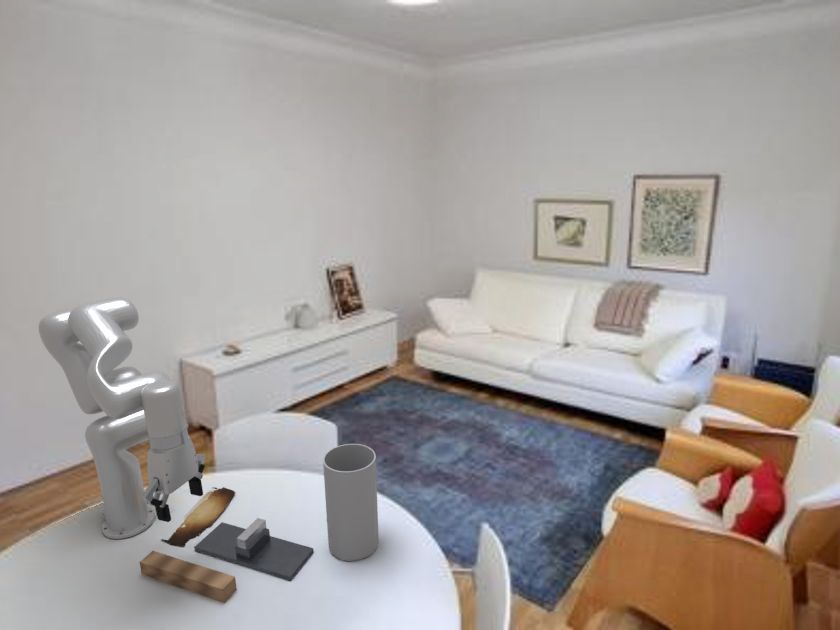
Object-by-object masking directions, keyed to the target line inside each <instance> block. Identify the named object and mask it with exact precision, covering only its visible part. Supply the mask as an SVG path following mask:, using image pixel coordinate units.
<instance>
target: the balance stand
mask: <svg viewBox="0 0 840 630" xmlns="http://www.w3.org/2000/svg"><path fill="white" fill-rule="evenodd" d="M270 533H271V531H270V529H269V528H267V520H266V519H263V518H260V517H256V519H254V521H253V522H252V523H251V524H249V526H247V528H243V527H241V526H240V527H239V526H237V525H232V524H230V523H226V522H223V521H222V522H220V523H219V524H218V525H217V526H216V527H215V528H214V529H213V530H212V531H210V532H209V533H208V534H207V535H206V536H205V537H204V538H202V539H201V540H200V541H199V542H198V543H197V544H196V545H195V546H194V547H193V548H194V551H195V552H196V553H199V554H202V555H207V556H209V557H213V558H217V559H220V560H223V561H225V562H228V563H232V564H235V565H238V566H241V567H245V568H248V569H251V570H254V571H258V572H260V573H264V574H266V575H270V576H273V577H276V578H279V579H283V580H286V581H289V582H291V581H292V580H293V579H294V578H295V576H296V575H297V574H298V573H299V571H301V569H302V568H303V567H304V565H305V564H306V563H307V562H308V560H309V559H310V558H311V557H312V555H313V554H314V551H315V550H314V547H310V546H307V545H303V544H299V543H296V542H292V541H289V540H287V539H282V538H280V537H276V536H272V535H270Z"/></svg>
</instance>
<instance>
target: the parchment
mask: <svg viewBox="0 0 840 630" xmlns="http://www.w3.org/2000/svg"><path fill="white" fill-rule="evenodd" d="M212 489H214V490H213V491H208V492H206V493H205V494H203V495H202V496H201V498H200V499H199V500H198V501H197V502H196V503H195V504H194V505H193V507H191V508H190V510H189V511H187V513H185V515H184V516H183V522H181V524H180V526H179V527H177V529H175V531H174V532H173V533H172V534H171V536H170V537H169V538H168V539H163V538H162V539H161V540H162V541H163V542H166V543H167V544H170V546H172V545H173V546H180V547H185V546H187V545H186V544H187V543H189V542H190V541H191V540H194V539H196V538H198V537H200V536H201V534H202V533H203V532H204V531H206V530H207V529H210V527H212V525H213V523H214V522H215V521H216V520H217V518H219V516H221V514H222V513H223V512H224V511H225V510H226V508H227V507H228V505H229V503H230V501H232V499H233V498H234V496H235V495H236V494H235V493H236V491H234V490H233V489H230V488H226V487H224V486H222V487H221V488H218V487H212Z"/></svg>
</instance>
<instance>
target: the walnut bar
mask: <svg viewBox="0 0 840 630" xmlns="http://www.w3.org/2000/svg"><path fill="white" fill-rule="evenodd" d="M139 568H140V572H141V575H142V576H144V577H147V578H149V579H152V580H156V581H159V582H161V583H165V584H167V585H170V586H173V587H176V588H179V589H183V590H185V591H189V592H192V593H195V594H198V595H200V596H203V597H207V598H209V599H211V600H215V601H218V602H221V603H224V604H226V603H227V601H228V600H229V599H230V598H231V597H232V596H233V595H234V594H235V592H236V591H237V590H238V588H237V582H236V581H237V580H236V576H234V575H232V574H228V573H225V572H222V571H218V570H215V569H213V568H210V567H205V566H202V565H200V564H197V563H194V562H190V561H187V560H184V559H181V558H177V557H176V556H171V555H168V554H166V553H162V552H158V551H157V550H156V551H155V550H152V551H150V553H148V554H147V555H146V556H145V557H143V558H142V559H141V560H140V561H139Z"/></svg>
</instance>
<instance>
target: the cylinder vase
mask: <svg viewBox="0 0 840 630" xmlns="http://www.w3.org/2000/svg"><path fill="white" fill-rule="evenodd" d="M322 467H323V468H322V469H323V480H324V481H323V482H324V495H325V498H324V499H325V510H326V512H325V513H326V526H327V539H328V540H327V541H328V548H329V551H330V553H331V554H332V555H333V556H334V557H336V558H337V559H339V560H342V561H349V562H350V561H351V562H352V561H354V562H355V561H360V560H363V559H365V558H368V557H369V556H370V555H371V554H372V553H375V552H374V551H376V550H377V547H378V545H379V519H378V517H379V512H378V510H379V509H378V486H377V485H378V484H377V482H378V481H377V480H378V479H377V457H376V453H375V451H374V449H373V448H372V447H370V446H368V445H365V444H360V443H345V444H342V445H337V446H334V447H332V448H331V449H329V450H328V451H326V453H325V454H324V455H323V458H322Z"/></svg>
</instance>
